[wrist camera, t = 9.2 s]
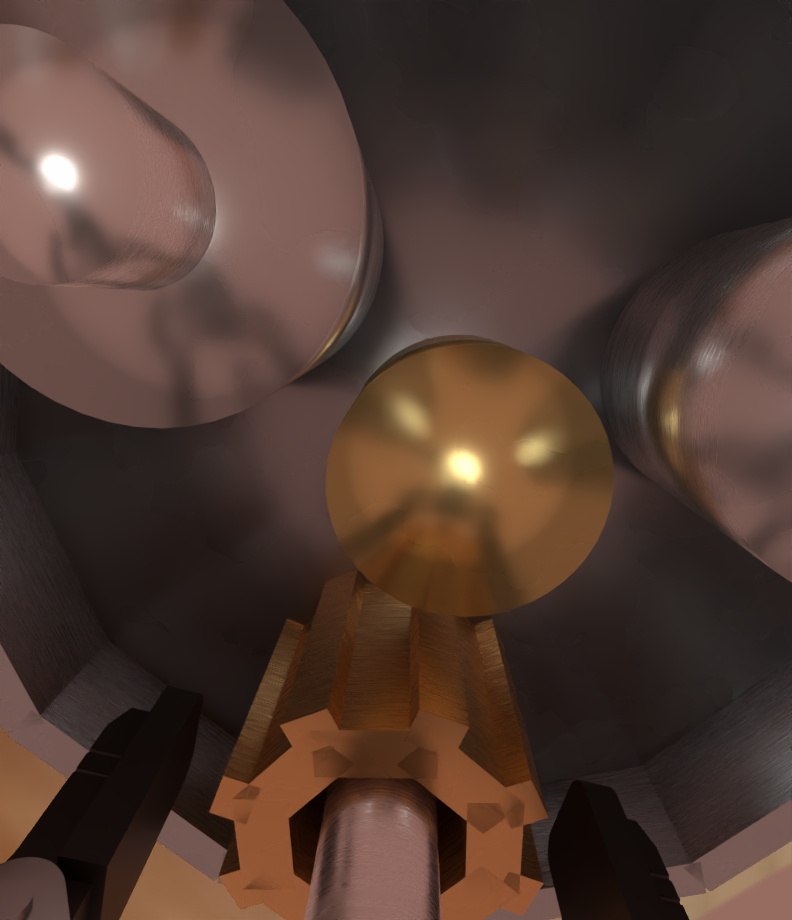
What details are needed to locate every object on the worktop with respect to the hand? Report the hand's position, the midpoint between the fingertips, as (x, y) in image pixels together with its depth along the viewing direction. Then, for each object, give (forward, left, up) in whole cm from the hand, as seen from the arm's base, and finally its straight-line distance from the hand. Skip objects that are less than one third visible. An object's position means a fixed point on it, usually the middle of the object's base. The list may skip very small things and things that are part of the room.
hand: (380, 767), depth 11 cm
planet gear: (0, 0, -3) cm, 3 cm away
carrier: (-3, +5, -5) cm, 8 cm away
